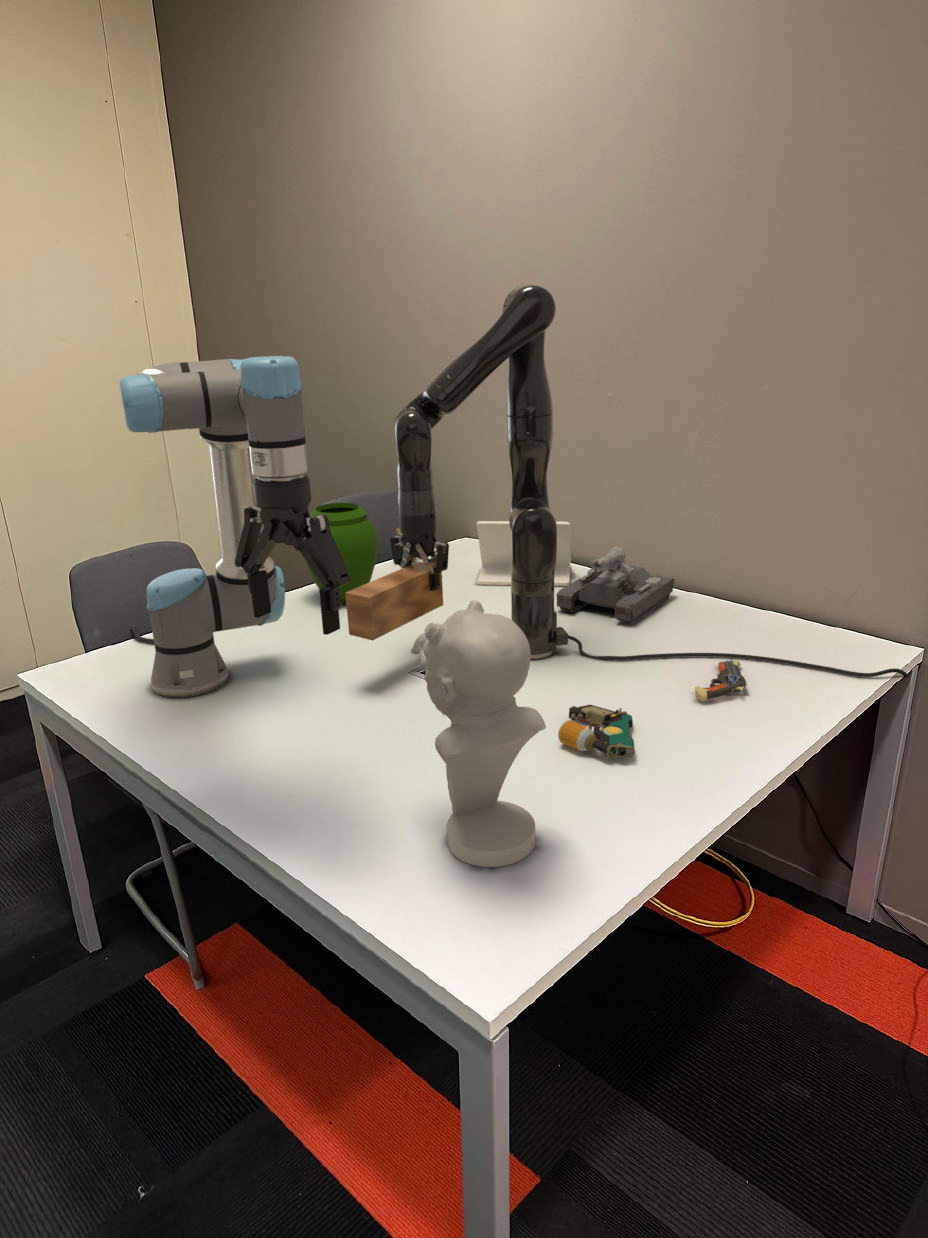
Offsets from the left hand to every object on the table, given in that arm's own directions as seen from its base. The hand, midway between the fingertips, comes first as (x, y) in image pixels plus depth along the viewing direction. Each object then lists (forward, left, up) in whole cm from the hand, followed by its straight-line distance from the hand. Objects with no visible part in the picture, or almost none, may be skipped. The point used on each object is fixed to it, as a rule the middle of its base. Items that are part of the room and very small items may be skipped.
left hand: (296, 623), depth 123 cm
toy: (-25, +104, -30) cm, 111 cm away
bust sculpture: (+22, +12, -30) cm, 40 cm away
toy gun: (+19, +82, -30) cm, 89 cm away
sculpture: (-94, +92, -30) cm, 134 cm away
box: (-30, +40, -18) cm, 53 cm away
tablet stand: (-58, +105, -30) cm, 124 cm away
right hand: (-32, +48, -14) cm, 59 cm away
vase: (-78, +58, -30) cm, 102 cm away
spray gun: (+17, +48, -30) cm, 59 cm away
